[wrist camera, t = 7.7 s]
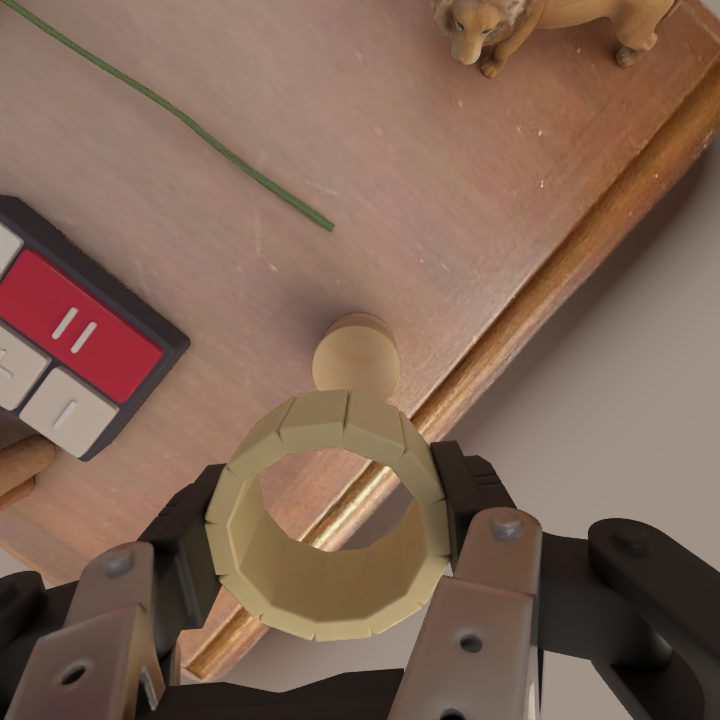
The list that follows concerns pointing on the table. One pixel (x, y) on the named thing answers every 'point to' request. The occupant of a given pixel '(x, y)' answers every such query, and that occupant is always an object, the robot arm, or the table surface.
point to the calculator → (73, 338)
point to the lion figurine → (543, 25)
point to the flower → (179, 114)
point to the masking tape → (311, 565)
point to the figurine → (23, 467)
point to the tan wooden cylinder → (358, 357)
